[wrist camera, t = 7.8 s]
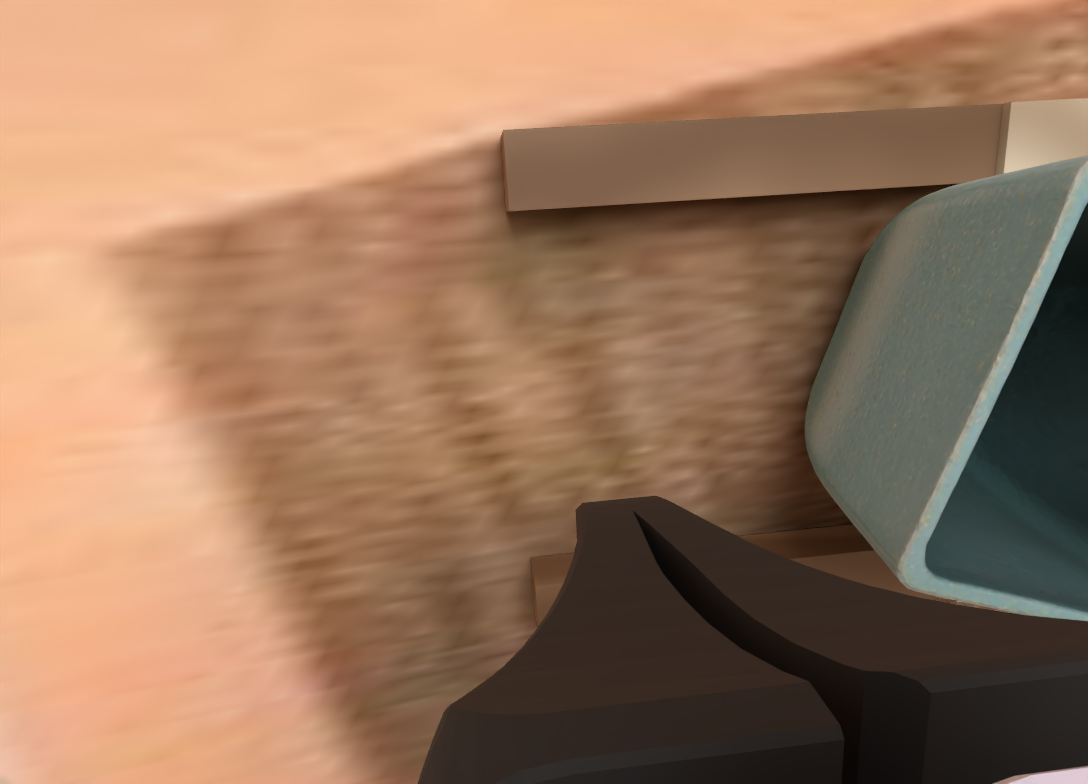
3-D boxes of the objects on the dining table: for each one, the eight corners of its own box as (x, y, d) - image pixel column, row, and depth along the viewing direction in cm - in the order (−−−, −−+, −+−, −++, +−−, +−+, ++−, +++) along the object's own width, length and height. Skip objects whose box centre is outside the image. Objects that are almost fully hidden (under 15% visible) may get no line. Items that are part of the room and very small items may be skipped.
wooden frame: (1178, 541, 25) (1240, 570, 23) (534, 611, 23) (540, 649, 21) (1266, 96, 21) (1350, 84, 19) (500, 137, 19) (503, 128, 17)
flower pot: (963, 504, 24) (1244, 672, 15) (731, 443, 22) (893, 590, 14) (1078, 255, 22) (1474, 283, 13) (831, 171, 20) (1094, 141, 12)
